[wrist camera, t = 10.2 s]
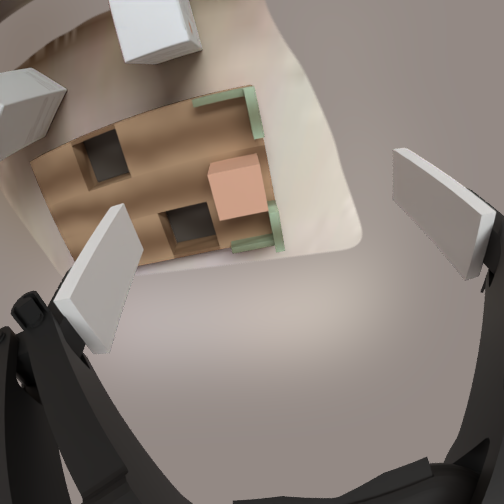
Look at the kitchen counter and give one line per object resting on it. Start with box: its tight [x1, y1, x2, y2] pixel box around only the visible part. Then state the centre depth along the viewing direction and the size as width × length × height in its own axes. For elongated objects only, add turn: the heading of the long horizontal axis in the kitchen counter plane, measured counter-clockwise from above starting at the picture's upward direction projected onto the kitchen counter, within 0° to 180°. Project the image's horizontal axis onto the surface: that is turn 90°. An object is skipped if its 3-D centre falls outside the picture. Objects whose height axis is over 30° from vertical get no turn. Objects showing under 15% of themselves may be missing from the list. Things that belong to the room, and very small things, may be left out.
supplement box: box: [0, 68, 67, 161], centre depth 22 cm, size 7×7×13 cm
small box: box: [108, 0, 202, 64], centre depth 21 cm, size 8×6×10 cm
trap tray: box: [30, 85, 285, 266], centre depth 33 cm, size 18×28×6 cm, turn 101°
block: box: [207, 153, 269, 221], centre depth 31 cm, size 5×5×4 cm
